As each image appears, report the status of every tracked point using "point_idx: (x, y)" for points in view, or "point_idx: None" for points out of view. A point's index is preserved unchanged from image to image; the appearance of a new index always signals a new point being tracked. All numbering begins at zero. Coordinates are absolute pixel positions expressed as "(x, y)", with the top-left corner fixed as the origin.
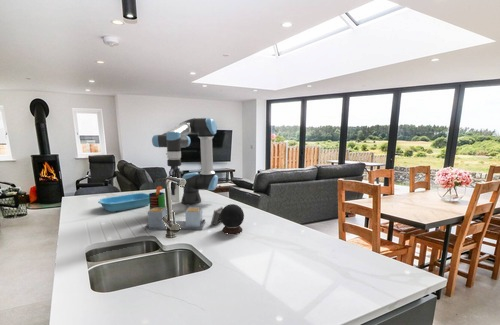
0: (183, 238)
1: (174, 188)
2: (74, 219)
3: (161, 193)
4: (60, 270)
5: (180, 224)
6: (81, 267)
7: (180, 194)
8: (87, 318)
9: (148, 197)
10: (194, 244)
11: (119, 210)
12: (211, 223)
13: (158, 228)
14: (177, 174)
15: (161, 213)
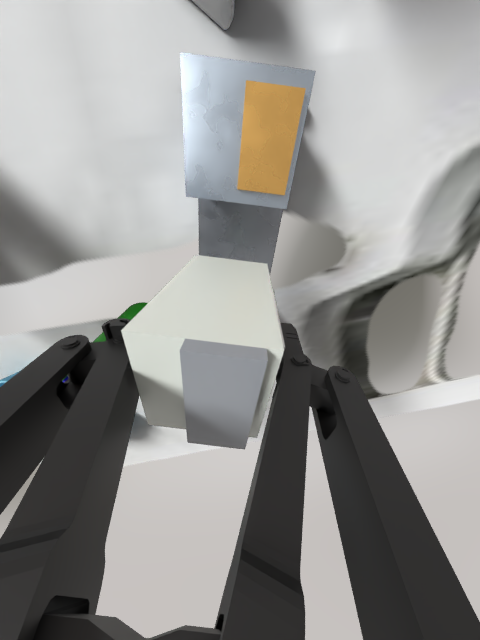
0: (377, 201)
1: (309, 364)
2: (181, 447)
3: (68, 377)
4: (416, 410)
5: (240, 234)
6: (425, 392)
7: (221, 276)
8: None
9: (2, 384)
10: (475, 133)
11: None
12: (231, 20)
13: None
14: (32, 630)
15: None
